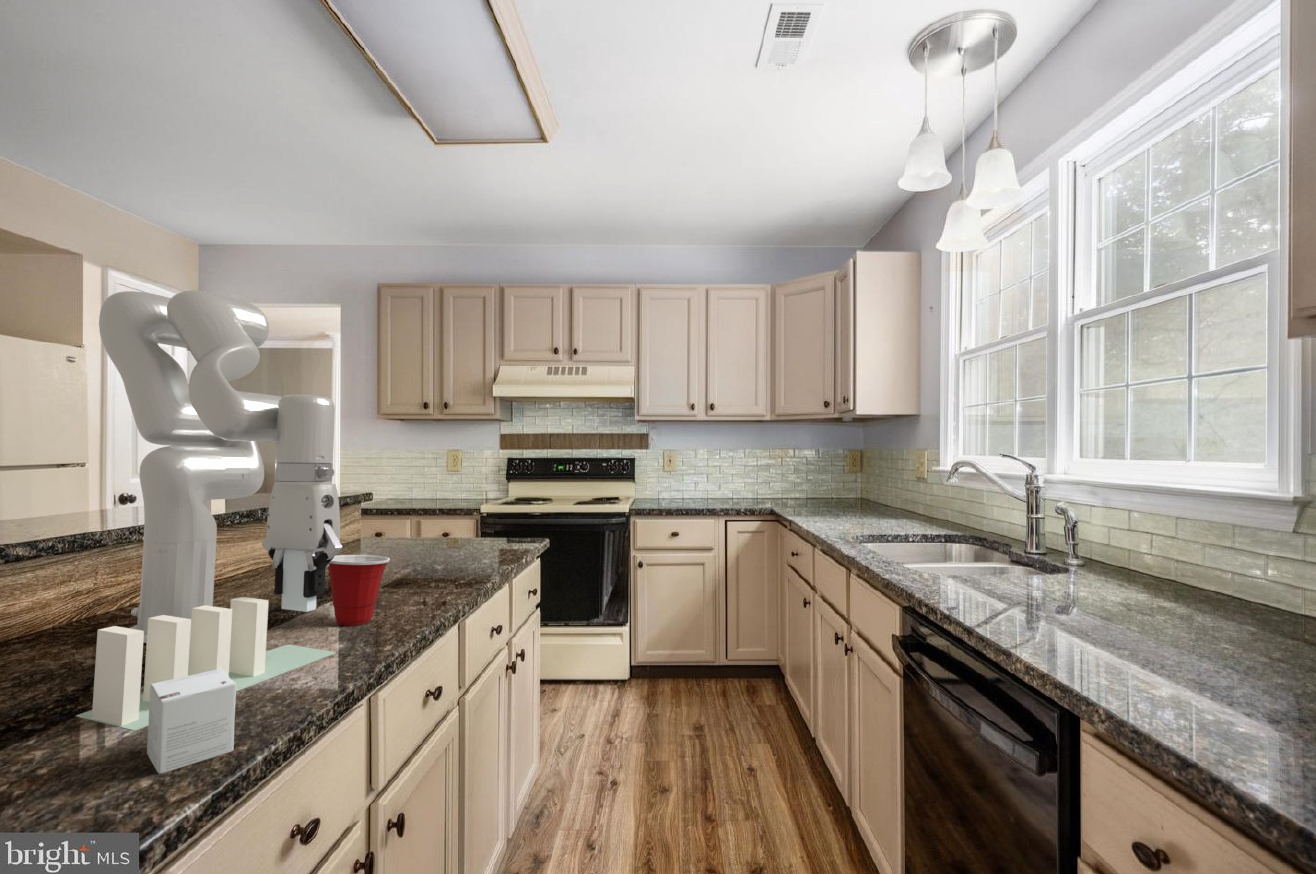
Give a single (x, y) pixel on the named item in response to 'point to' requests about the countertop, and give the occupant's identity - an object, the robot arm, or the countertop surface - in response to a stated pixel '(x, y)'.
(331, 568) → the plastic cup
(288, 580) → the domino
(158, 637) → the domino
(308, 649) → the strip
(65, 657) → the countertop surface
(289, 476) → the robot arm
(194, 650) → the domino
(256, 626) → the domino
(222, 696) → the skincare box
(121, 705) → the domino
